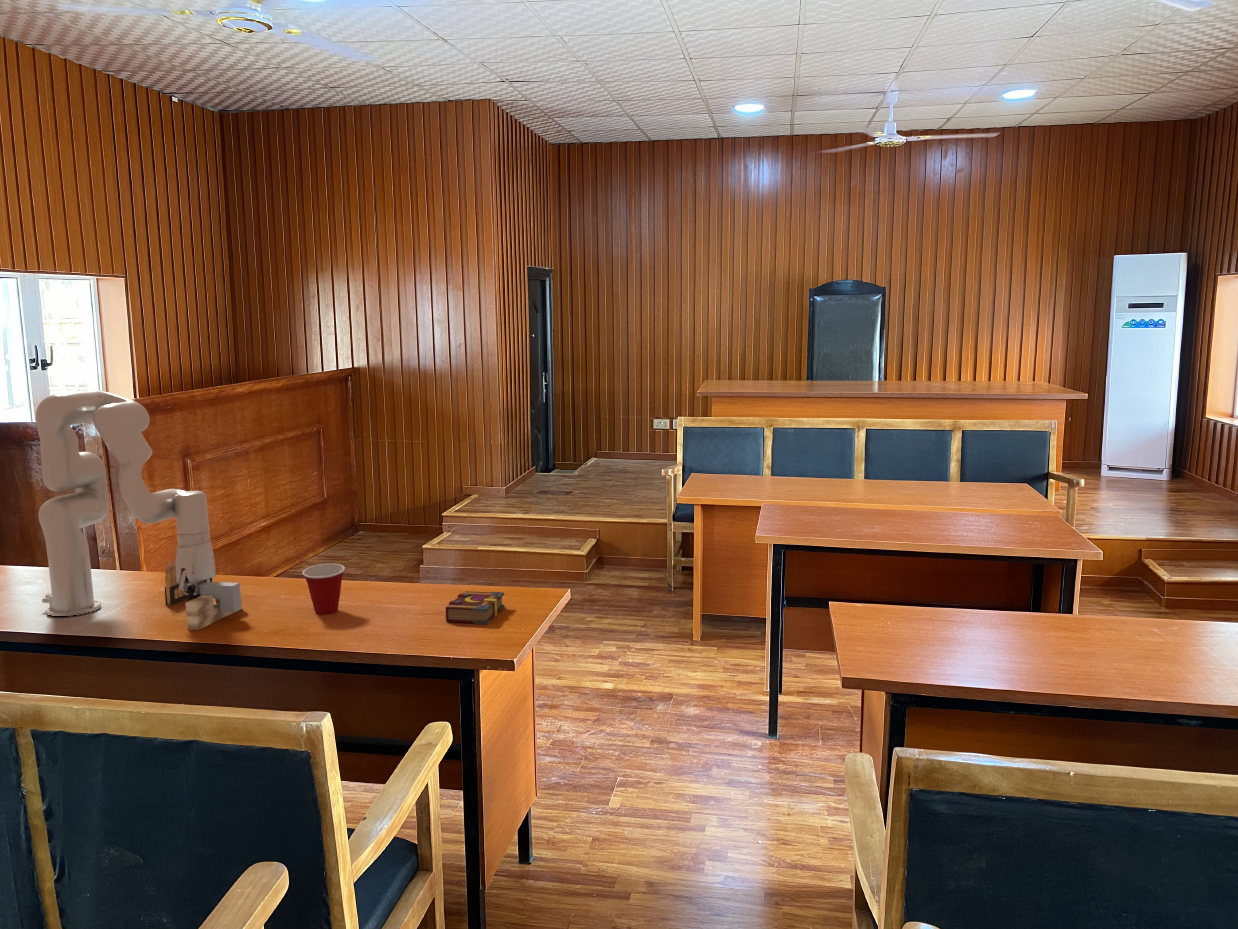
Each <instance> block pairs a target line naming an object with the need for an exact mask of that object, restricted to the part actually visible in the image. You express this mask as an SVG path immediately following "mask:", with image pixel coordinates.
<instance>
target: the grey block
mask: <svg viewBox="0 0 1238 929" xmlns="http://www.w3.org/2000/svg"><path fill="white" fill-rule="evenodd" d="M191 587H192V588H193V586H192V585H191ZM240 591H241V584H240V582H225V581H224V582H222V581H212V582H203V581H201V582H199V583H198V594H200V596H202V595H205V596H213V599H215V598H216V599H220V610H221V612H234V613H236V612H238V611H240V610H243V608H241V605H242V595H241V596H240Z"/></svg>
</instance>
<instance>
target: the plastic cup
mask: <svg viewBox="0 0 1238 929" xmlns="http://www.w3.org/2000/svg"><path fill="white" fill-rule="evenodd" d="M345 569H346V567H345V566H344V565H343V564H339V563H330V562H329V563H320V564H314V565H312V566H309V567H307V568H305V569H303V570H302V573H301V574H302V575H303V576H304V578H305V581H306V583H307V589H308V592H309V596H310V599H311V602H312V605H313V611H314V612H315V614H316V615H319V616H320V615H321V616H327V615H332V614H335V613H336V612H338V610H339V605H340V604H339V602H340V598H341V591H342V589H341V587H342V580H343V575H344V572H345Z"/></svg>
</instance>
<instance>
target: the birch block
mask: <svg viewBox="0 0 1238 929" xmlns="http://www.w3.org/2000/svg"><path fill="white" fill-rule="evenodd" d="M240 596H241V597H242V595H241V590H240ZM214 599H215V603H214ZM241 608H242V604H241ZM242 609H243V608H242ZM185 613H186V626H187V630H189V631H199V630H202V629H203V628H205V627H207V626H209V625H212V624H214V623H215V622H217V621H220V620H222V619H224V618H225V617H228V616H230V615H232V614H234V613H235V612H221V610H220V599H216V598H213V596H205V595H202V596H200V597H198V598H195V599H193V600H191V601H187V602H186V601H185Z"/></svg>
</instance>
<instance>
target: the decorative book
mask: <svg viewBox="0 0 1238 929" xmlns="http://www.w3.org/2000/svg"><path fill="white" fill-rule="evenodd" d="M503 596H505V592H504V591H490V592H489V591H488V592H487V591H485V592H484V591H469V590H468V591H467V590H465V591H464V592H463V593H462V592H461V593H459V594H458V595H457V597H456V598H455V599H454V600H450V601H449V602H448V605H446V606H445V622H448V623H462V624H463V623H464V624H473V623H478V624H477V625H484V624H487V623H488V622H489V621H490V620H491V621H492V619H493V618H495V617H497V616H498V613H499V612H501V611H502V610H503V609H504V608H505V604H503ZM494 616H495V617H494ZM491 621H490V622H491ZM490 622H489V623H490ZM489 623H488V624H489ZM488 624H487V625H488Z"/></svg>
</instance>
